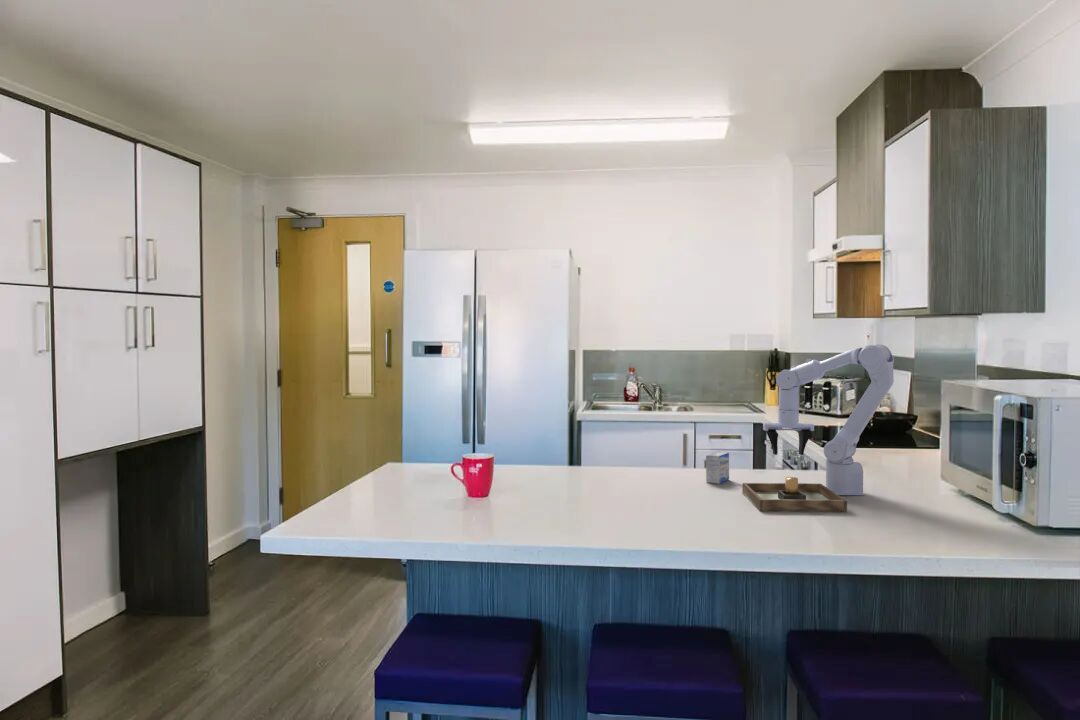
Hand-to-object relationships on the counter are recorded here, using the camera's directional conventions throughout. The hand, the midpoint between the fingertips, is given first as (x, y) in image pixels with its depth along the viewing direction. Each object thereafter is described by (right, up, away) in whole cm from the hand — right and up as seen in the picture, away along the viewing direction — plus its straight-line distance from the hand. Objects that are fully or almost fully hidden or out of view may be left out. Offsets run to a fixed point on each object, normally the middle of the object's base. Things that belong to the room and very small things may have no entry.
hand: (788, 454), depth 209 cm
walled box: (-6, -10, -20) cm, 24 cm away
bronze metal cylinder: (-6, -10, -20) cm, 23 cm away
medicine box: (-20, -10, +7) cm, 23 cm away
